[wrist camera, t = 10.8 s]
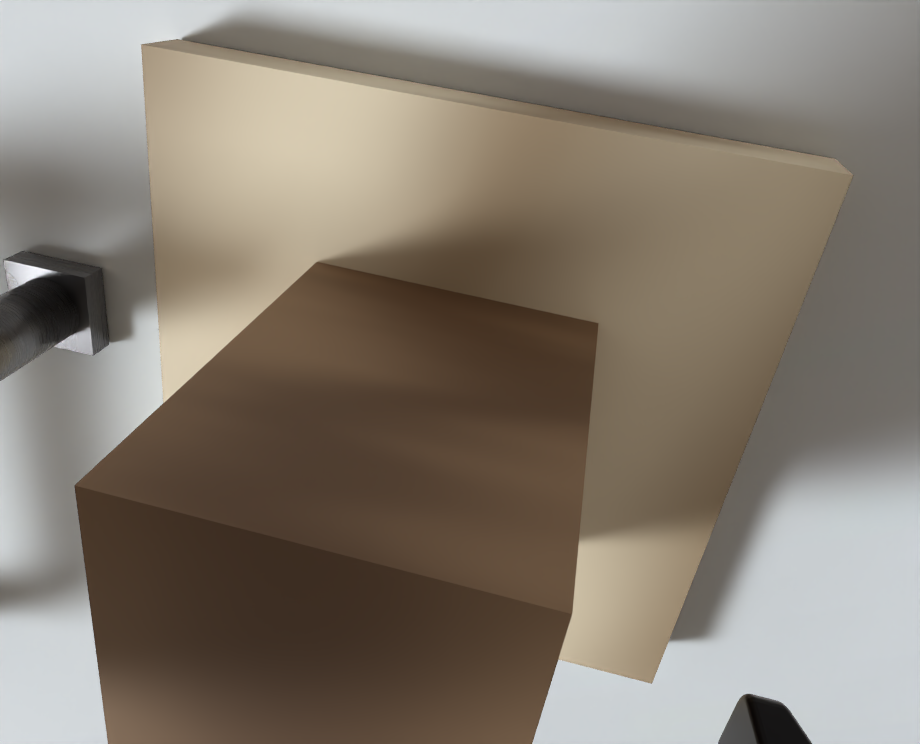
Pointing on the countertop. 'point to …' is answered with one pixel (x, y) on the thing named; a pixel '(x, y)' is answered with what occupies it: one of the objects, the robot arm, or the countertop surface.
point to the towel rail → (49, 309)
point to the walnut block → (347, 525)
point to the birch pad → (508, 271)
